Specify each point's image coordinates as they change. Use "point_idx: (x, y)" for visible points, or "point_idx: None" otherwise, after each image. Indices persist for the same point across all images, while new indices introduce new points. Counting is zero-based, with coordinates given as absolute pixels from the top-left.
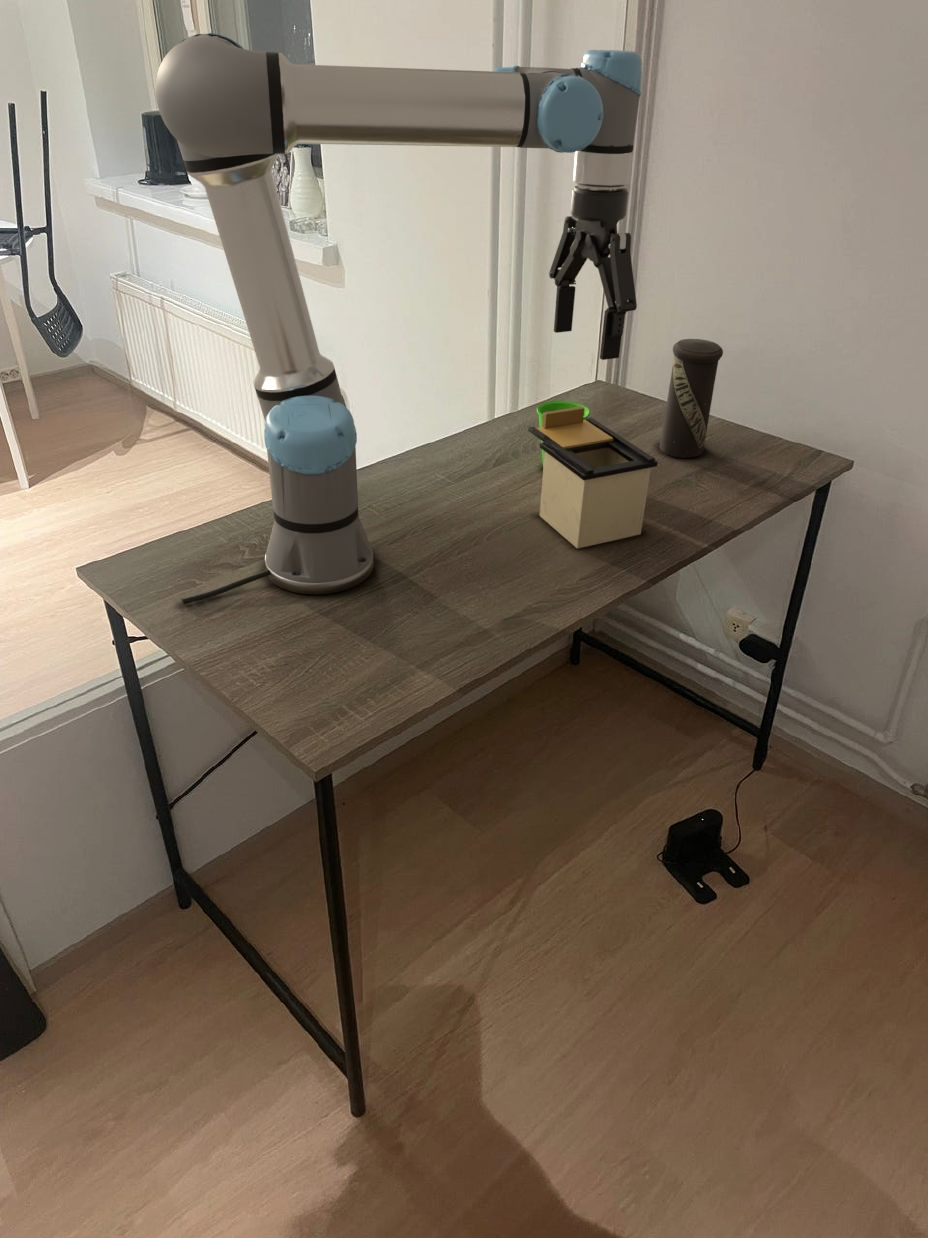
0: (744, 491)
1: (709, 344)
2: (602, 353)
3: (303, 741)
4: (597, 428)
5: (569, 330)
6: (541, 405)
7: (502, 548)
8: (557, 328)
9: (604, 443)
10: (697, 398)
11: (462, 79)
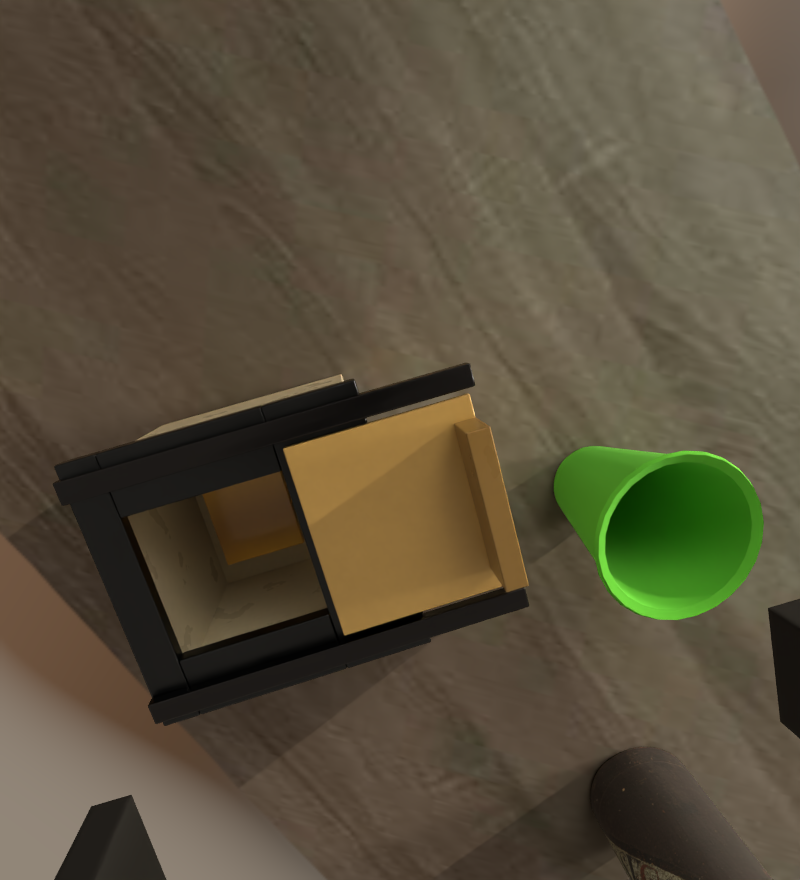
0: (408, 859)
1: None
2: (79, 843)
3: None
4: (434, 604)
5: (783, 709)
6: (738, 477)
7: (175, 237)
8: (790, 632)
9: (325, 598)
10: None
11: None
